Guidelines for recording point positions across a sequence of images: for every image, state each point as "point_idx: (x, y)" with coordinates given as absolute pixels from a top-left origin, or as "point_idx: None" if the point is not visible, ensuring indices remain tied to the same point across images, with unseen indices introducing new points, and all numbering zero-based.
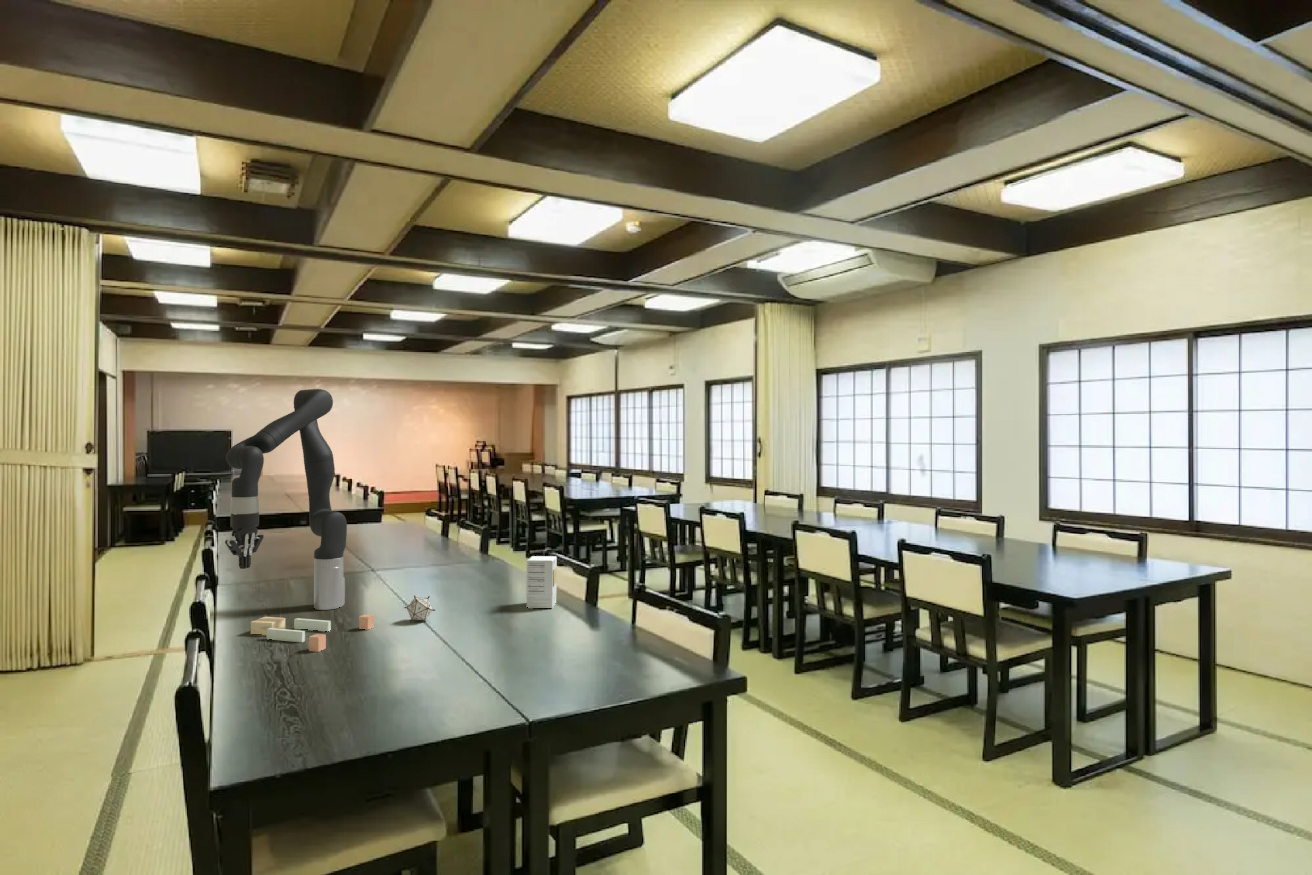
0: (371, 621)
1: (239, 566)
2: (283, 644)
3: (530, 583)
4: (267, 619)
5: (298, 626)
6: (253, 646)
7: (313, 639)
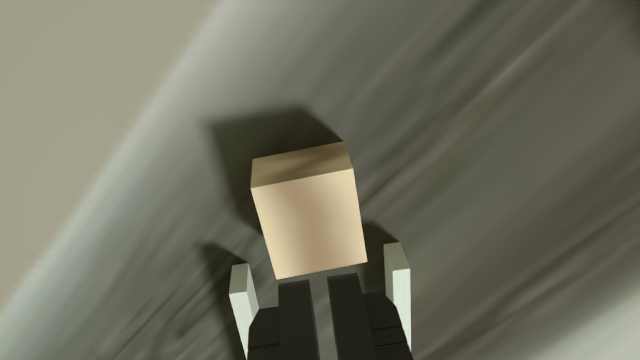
0: None
1: (257, 317)
2: (215, 348)
3: None
4: (316, 219)
5: (386, 267)
6: (146, 293)
7: None
